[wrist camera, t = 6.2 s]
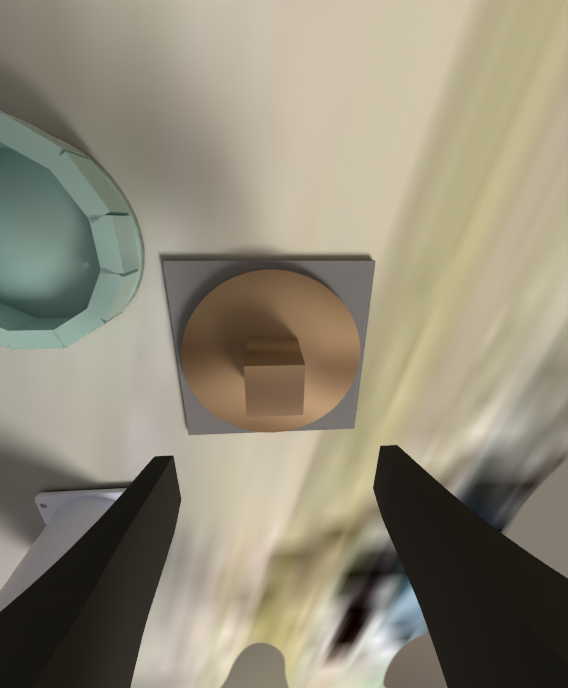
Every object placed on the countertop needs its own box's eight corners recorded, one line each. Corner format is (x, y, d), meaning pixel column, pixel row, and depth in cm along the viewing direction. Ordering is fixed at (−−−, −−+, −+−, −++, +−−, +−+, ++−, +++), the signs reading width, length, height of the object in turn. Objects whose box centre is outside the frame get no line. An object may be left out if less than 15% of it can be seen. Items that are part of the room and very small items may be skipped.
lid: (347, 422, 21) (367, 468, 17) (194, 427, 20) (178, 477, 17) (366, 268, 17) (397, 283, 13) (172, 268, 16) (144, 284, 12)
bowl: (157, 327, 18) (138, 346, 15) (-16, 329, 17) (-69, 351, 14) (124, 130, 14) (90, 109, 11) (-102, 124, 13) (-198, 99, 11)
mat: (352, 424, 22) (354, 428, 21) (189, 431, 21) (188, 434, 21) (373, 260, 17) (375, 260, 17) (164, 259, 16) (162, 260, 16)
